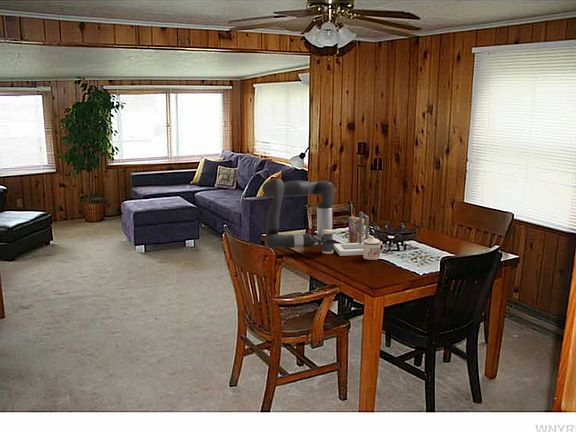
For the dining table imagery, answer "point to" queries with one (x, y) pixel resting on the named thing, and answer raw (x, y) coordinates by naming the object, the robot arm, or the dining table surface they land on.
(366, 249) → the teacup with lid
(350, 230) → the candy box
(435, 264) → the dining table surface
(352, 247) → the white stand with posts
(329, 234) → the cord spool
